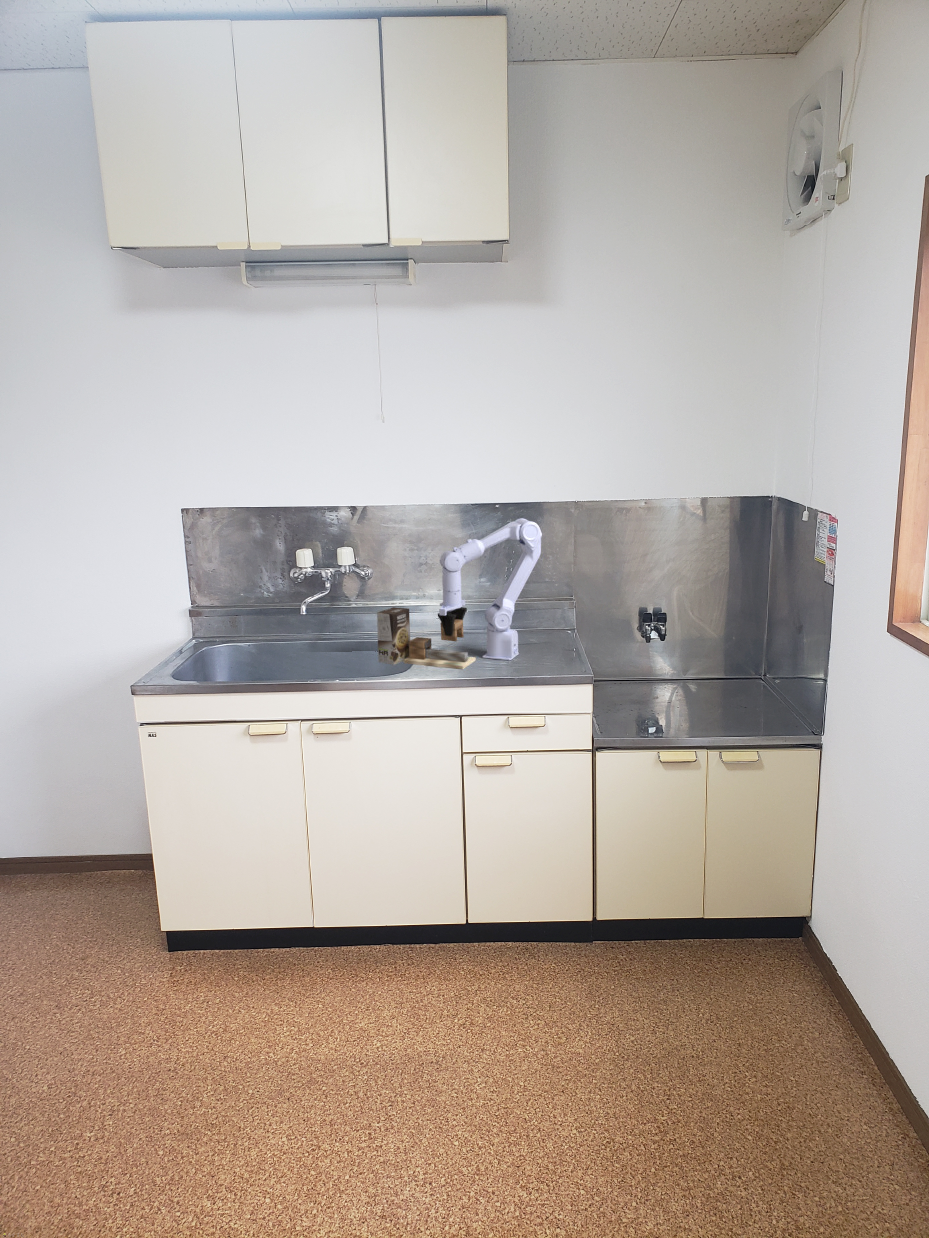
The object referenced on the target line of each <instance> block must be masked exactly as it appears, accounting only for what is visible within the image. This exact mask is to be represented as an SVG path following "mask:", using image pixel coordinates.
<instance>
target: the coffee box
mask: <svg viewBox="0 0 929 1238" xmlns="http://www.w3.org/2000/svg"><path fill="white" fill-rule="evenodd" d="M376 617H377V618H376V623H377V625H376V627H377V650H378V651H377V657H378V663H380V664H381V663H382V664H386V665H387V664H388V665H392V666H394V665H397V664H399V663H402V662H404V661H403V660H404V659H406V658H408V657H409V656H410V653H409V641H410V640H411V626H410V625H411V622H410V608H404V607H396V606H394V607H390V608H386V609H384V610H381V611H377V612H376Z"/></svg>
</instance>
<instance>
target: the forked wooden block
mask: <svg viewBox="0 0 929 1238" xmlns="http://www.w3.org/2000/svg"><path fill="white" fill-rule="evenodd" d="M464 637H465V636H464V619H463V620H458V619H455V621H454V626H453V635H452V636H446V635H445V632H444V628H443V625H442V623H441V622H440V639H441V640H440V641H448V642H449V641H450V642H457V641H458V638H464Z"/></svg>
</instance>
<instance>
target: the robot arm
mask: <svg viewBox="0 0 929 1238" xmlns="http://www.w3.org/2000/svg"><path fill="white" fill-rule="evenodd" d="M542 536H543V533H542V531H541V528H540V526H539V524H537V523H536V522H534V521H531V520H528V519H526V518H523V517H521V518H517V519H516V520H515V521H514V520H513V521H511V522H509V523H507V524H506V525H503V526H502V527H500V528H498V529H497V530H494V531H493V532H491V533H489V534H488V535H486V536H485V537H483V538H481V539H477V538H472V539H471V538H468V539H466V540H465V541H466V542H464V543H463V544H460V545H458V546H453V547H452V550H446V551H444V552H443V553H442V554H441V556H440V559H439V563H440V565H441V567H442V577H441V578H442V580H441V581H442V602H440V603H439V607H440V608H439V611H438V613H437V618H438V619H439V620H440V623H442V625H443V628H444V632H445V635H446V636H452V635H453V626H454V621H455V619H458V620H463V621H464V618H465V615H466V613H467V611H468V608H467V607H464V606H466V599H463V598H462V574H461V573H462V571H461V569H462V568H463V567H464V565H467V564H468V563H470V562H473V561H475V560H476V559H478V558H480V557H482V556H483V555H484V552H485V550H487V549H490V548H491V547H493V546H495V545H499V544H500V543H502V542H504V541H506V540H516V541H518V542H519V544H520V545H519V546H520V547H521V550H522V553H521V555H520V557H519V558H518V560H517V562H516V564H515V566H514V568H513V569H512V572H511V574H510V575H509V578H508V580H507V582H505V585H504V587H503V589H502V591H501V593H500V595H499V596H498V597H496V599H494V600H493V603H492V604H491V605H490V606H488V607H487V608H486V609H485V612H484V618H485V621H486V622H487V623H488V624H487V626H486V653H485V654H483V655H482V658H483V659H493V660H503V661H512V660H513V659H515V658H516V657H517V656H518V655H519V654H520V652H519V634H518V631H517V630H516V629H512V628H511V625H512V621H513V615H514V613H515V604H516V601H517V600H518V598H519V596H520V594H521V592H522V590H523V588H524V587H525V585H526V583H527V581H528V579H529V577H530V575H531V574H532V572H533V569H534V568H535V566H536V564H537V562H538V560H539V558H540V556H541V553H542Z"/></svg>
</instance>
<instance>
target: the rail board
mask: <svg viewBox="0 0 929 1238" xmlns="http://www.w3.org/2000/svg"><path fill="white" fill-rule="evenodd" d="M409 653H410V656H409V657H408V658H406V659H404V660H403V661H402V662H403V664H408V665H409V664H410V665H416V666H417V665H418V666H419V665H420V666H427V667H429V666H430V667H436V668H437V667H439V668H448V669H456V670H457V669H458V670H464V669H465V668H467V667H468V666H470V665H471V664H473V663H475V661H476V657H475V656H474V657H473V656H469V655H468V652H466V651H455V650H445V649H435V648H432V638H431V637H421V636H416V637H414V638H413V639H410V641H409Z"/></svg>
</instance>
